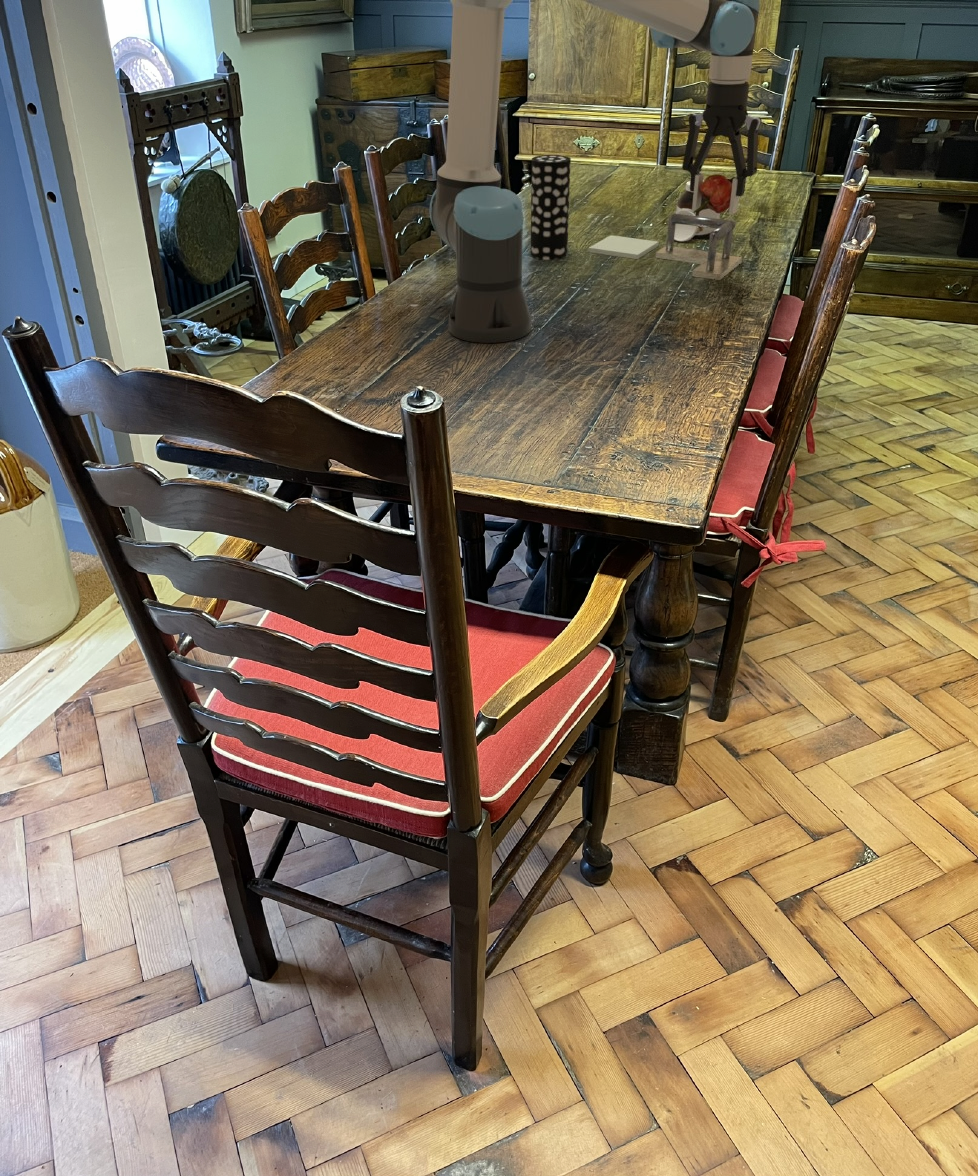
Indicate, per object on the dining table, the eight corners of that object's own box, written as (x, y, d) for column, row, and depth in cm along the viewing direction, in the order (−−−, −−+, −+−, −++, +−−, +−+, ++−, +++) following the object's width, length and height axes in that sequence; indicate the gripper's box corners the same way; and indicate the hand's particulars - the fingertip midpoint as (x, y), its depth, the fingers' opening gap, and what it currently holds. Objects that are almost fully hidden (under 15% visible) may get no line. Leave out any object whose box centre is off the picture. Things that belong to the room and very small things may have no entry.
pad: (637, 259, 206) (637, 254, 206) (588, 252, 211) (588, 247, 211) (658, 246, 215) (658, 241, 214) (610, 239, 220) (610, 235, 219)
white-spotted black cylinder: (564, 260, 206) (568, 163, 195) (527, 259, 207) (528, 162, 196) (569, 250, 213) (573, 155, 201) (533, 249, 214) (535, 154, 203)
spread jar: (715, 231, 225) (721, 180, 218) (719, 244, 216) (726, 190, 209) (664, 230, 226) (669, 179, 219) (667, 243, 217) (672, 190, 210)
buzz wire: (719, 280, 193) (725, 235, 188) (639, 268, 201) (642, 224, 196) (742, 262, 204) (748, 218, 198) (665, 251, 211) (669, 209, 206)
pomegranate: (705, 229, 184) (749, 196, 180) (685, 198, 181) (730, 163, 178) (700, 224, 190) (743, 192, 187) (680, 193, 188) (724, 160, 184)
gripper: (788, 81, 171) (769, 212, 184) (686, 76, 179) (674, 201, 193) (775, 86, 166) (756, 221, 179) (670, 81, 174) (660, 209, 188)
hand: (714, 210), depth 186 cm, fingers closed on pomegranate, 7 cm apart
